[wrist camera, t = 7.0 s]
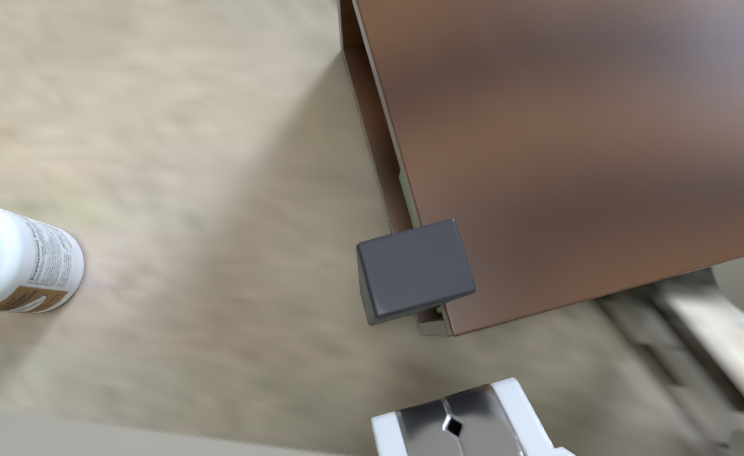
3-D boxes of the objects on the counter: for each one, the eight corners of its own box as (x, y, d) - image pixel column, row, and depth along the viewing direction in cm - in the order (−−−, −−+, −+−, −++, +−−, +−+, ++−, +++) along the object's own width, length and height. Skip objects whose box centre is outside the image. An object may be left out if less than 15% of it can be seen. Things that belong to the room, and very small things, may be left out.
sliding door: (447, 310, 25) (575, 279, 10) (369, 331, 25) (379, 333, 10) (408, 174, 27) (468, -39, 11) (333, 193, 27) (291, 1, 11)
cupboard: (672, 265, 27) (845, 229, 18) (420, 335, 27) (453, 337, 17) (571, -6, 30) (671, -168, 20) (340, 48, 29) (329, -93, 20)
